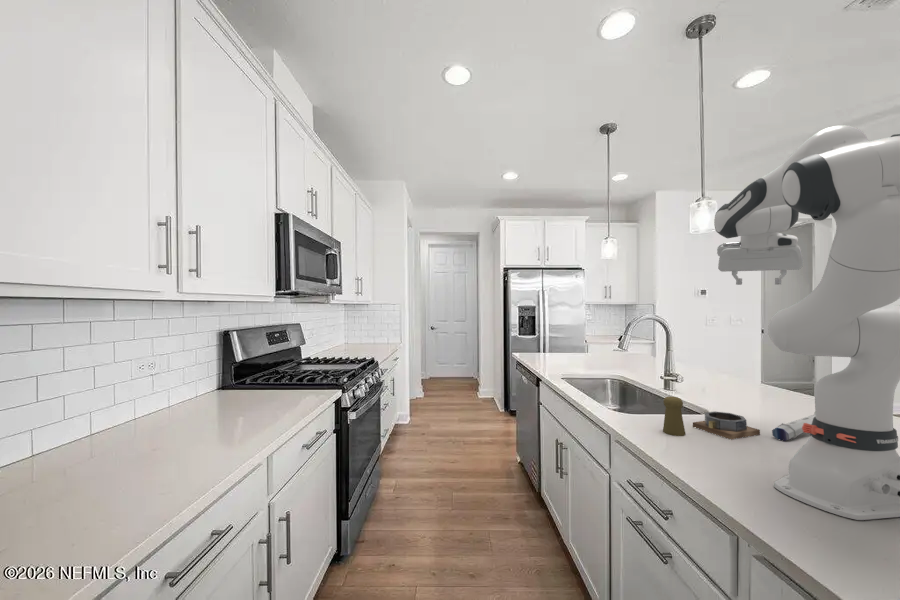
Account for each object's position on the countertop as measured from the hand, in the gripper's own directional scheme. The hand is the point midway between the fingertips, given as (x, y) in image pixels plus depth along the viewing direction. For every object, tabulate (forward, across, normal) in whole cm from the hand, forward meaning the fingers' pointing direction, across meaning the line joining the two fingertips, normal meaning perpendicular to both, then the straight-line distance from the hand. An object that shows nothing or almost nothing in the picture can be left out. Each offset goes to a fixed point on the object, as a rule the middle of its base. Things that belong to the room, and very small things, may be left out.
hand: (758, 284), depth 116 cm
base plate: (+42, -7, -20) cm, 47 cm away
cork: (+40, -18, -32) cm, 54 cm away
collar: (+41, -7, -20) cm, 46 cm away
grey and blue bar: (+45, +12, -10) cm, 47 cm away
